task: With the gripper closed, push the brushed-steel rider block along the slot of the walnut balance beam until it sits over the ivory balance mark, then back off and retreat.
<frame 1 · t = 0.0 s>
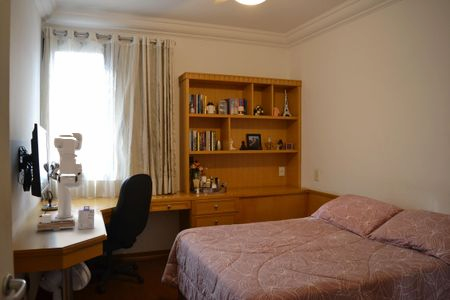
hand: (67, 182, 223), 31 cm above the table, fingers open, 9 cm apart
ink cartridge box: (86, 228, 229), on the table
rider: (46, 219, 220), point 7 cm above the table, slide at -6.0 cm
beam: (56, 229, 223), on the table
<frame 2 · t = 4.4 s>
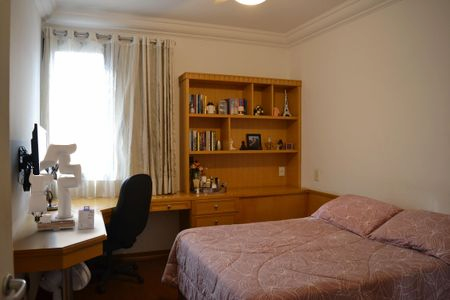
hand: (37, 222, 218), 6 cm above the table, fingers closed
rider: (46, 219, 220), point 7 cm above the table, slide at -5.9 cm, touching gripper
everything else where it was.
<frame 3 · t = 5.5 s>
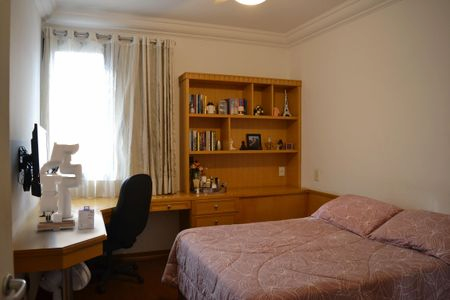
hand: (48, 221, 221), 6 cm above the table, fingers closed
rider: (57, 218, 223), point 7 cm above the table, slide at 0.4 cm, touching gripper
everything else where it was.
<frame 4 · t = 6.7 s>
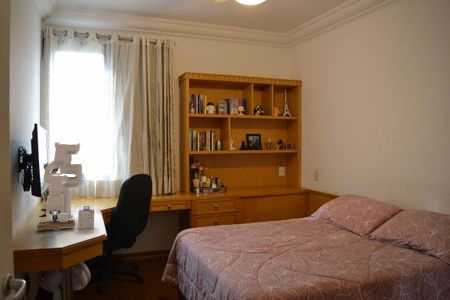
hand: (54, 221, 222), 6 cm above the table, fingers closed
rider: (63, 218, 225), point 7 cm above the table, slide at 4.3 cm, touching gripper
everything else where it was.
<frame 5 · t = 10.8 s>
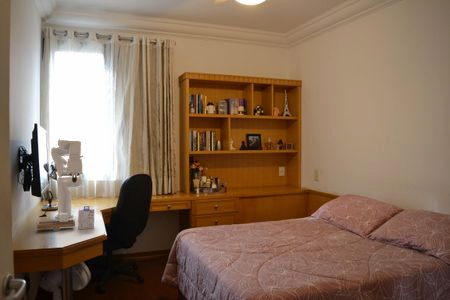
hand: (74, 182, 243), 29 cm above the table, fingers closed
rider: (63, 218, 225), point 7 cm above the table, slide at 4.3 cm
everything else where it was.
at the end: rider slide at 4.3 cm; rider touching nothing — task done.
